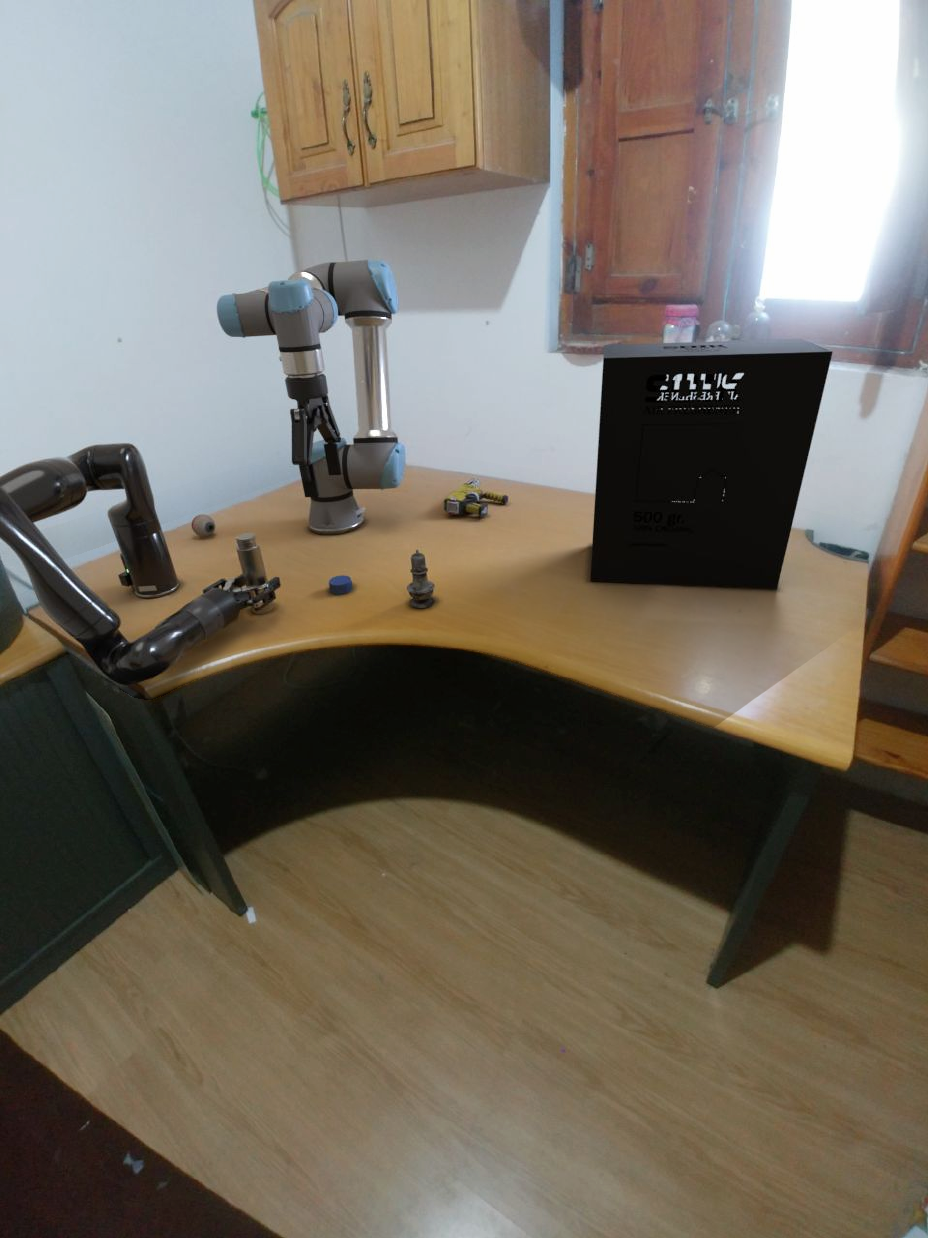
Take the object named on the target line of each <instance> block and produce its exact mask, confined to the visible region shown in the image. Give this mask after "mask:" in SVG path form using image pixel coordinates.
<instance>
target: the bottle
mask: <svg viewBox="0 0 928 1238" xmlns="http://www.w3.org/2000/svg"><path fill="white" fill-rule="evenodd" d="M235 541H236V544H237V545H236V547H235V549H236V553H237V557H238V560H239V564H240V569H241V572H242V574H243V576H244V580H245V584H246V585H245V588H246V587H249V586H252V585H255V586H260V585H264V584H265V583H267V582H268V581H269V580H268V576H267V572H266V568H265V564H264V560H263V555H262V551H261V547H260V543H258V542H256V534H254V533H252V532H245V533H241V534H238V535H237V536H236V537H235ZM262 591H264V590H260V591H259V592H258V593H259V594H260V593H261V592H262ZM250 594H251V600H252V598H254V593H253V591H250ZM274 608H275V606H274V600H273V601H272V602H271V603H269V604H268V605H266V606H265V607H264V608H262V609H261V610H259V611H255V610H254V607H251V610H252V612H253V613H254V614H256V615H264V614H267V613H269V612H271V611H273V610H274Z"/></svg>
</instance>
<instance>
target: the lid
mask: <svg viewBox="0 0 928 1238" xmlns="http://www.w3.org/2000/svg"><path fill="white" fill-rule="evenodd" d="M328 586H329V591H330V593H331V594H332V595H338V596H339V595H345V594H348V593H350V592H352V591H353V581H352V578H351V577H350V576H349V575H346V574H345V575H343V574H342V575H336V576H333V577H331V578H330V579H329V580H328Z"/></svg>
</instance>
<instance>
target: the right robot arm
mask: <svg viewBox="0 0 928 1238" xmlns="http://www.w3.org/2000/svg"><path fill="white" fill-rule="evenodd" d="M398 312H399V295H398V288H397V284H396V281H395V278H394V274H393V271H392V269H391V267H390V266H389V264H388V263H387V262H386V261H385V260H383V259H369V258H367V259H362V260H350V261H336V262H335V261H332V262H324V263H319V264H316V265H313V266H310V267H307V268H305V269H302V270H299V271H296V272H294V273H292V274H291V275H290V276H289V277H288V278H287V279H285V280H283V279H282V280H273V281H270V282H269V283H268V285H267V286H264V287H261V288H259V289H255V290H252V291H248V292H243V293H234V292H233V293H231V294H223V295H221V296H220V297H219V298H218V299H217V303H216V315H217V316H216V317H217V319H218V322H219V325H220V328H221V330H222V331H223V332H224V333H225V335H227V336H228V337H231V338H243V339H245V338H251V337H267V336H268V337H269V336H276V340H277V345H278V351H279V355H280V356H279V358H278V360H279V361H280V362H281V365H282V366H281V367H282V371H283V374H284V375H285V376H286V377H285V379H284V383H285V387H286V388H285V389H286V394H287V397H288V398H289V399H291V400H295V401H296V404H297V405H296V407H297V408H290V410H289V413H290V420H291V421H290V422H291V464H292V465H293V466H298V468H299V474H300V478H301V483H302V489H303V494H304V498H310V507H309V513H308V523H307V524H308V528H309V529H308V530H310V531H311V532H312V533H314V534H317V535H323V536H324V535H325V536H327V535H329V536H331V535H339V534H340V535H341V534H345V533H350V532H353V531H355V530H357V529H359V528H361V527H362V526H363V525H364V523H365V519H364V514H363V513H365V511H366V508H365V506H362V507H361V508H360V505H359V504H358V501H357V500H356V498H355V495H354V490H381V491H383V490H390V489H391V490H392V489H396V488H398V487H400V485H401V484H402V481H403V479H404V475H405V470H406V459H407V456H406V455H407V454H406V448H405V445H404V444H403V443H402V442H399V436H398V435H397V433H396V432H395V431H393V429H392V414H391V413H392V411H391V394H390V374H389V357H388V355H389V353H388V337H387V330H388V328H389V327H390V326H391V324H392V323H393V317H392V315H395V314H397V313H398ZM340 316H341V317H344V323H345V324H346V325H347V326H348V327H349V328H350V330H351V340H352V342H351V343H352V353H353V367H354V369H353V370H354V383H355V384H354V385H355V399H356V413H357V427H358V430H357V432H356V433H355V434H354V435H353V437H352V442H353V444H348V443H347V441H346V439H345V438H344V437H341V433H340V429H339V427H338V424H337V421H336V419H335V416H334V412H333V410H332V407H331V403H330V399H329V395H328V394H329V388H328V382H327V376H326V375H325V373H323V372H324V371H325V369H326V368H325V362H324V356H323V350H322V344H321V340H320V334H321V333H322V334H324V333H326V332H328V331H329V330H331V328H332V327H334V326H335V324H336V323H337V321H338V317H340ZM317 431H318V432H319V434H320V435H321V437H322V439H321V440H318V441H314V436H315V432H317Z"/></svg>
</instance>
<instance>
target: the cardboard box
mask: <svg viewBox="0 0 928 1238" xmlns="http://www.w3.org/2000/svg"><path fill="white" fill-rule="evenodd" d="M833 353H834V352H833V350H830V349H827V348H826V347H825V348H824V347H822V346H821V345H818V344H815V343H813V342H810V341H808V340H805V339H802V338H783V339H782V338H781V339H779V338H777V339H776V338H775V339H749V340H747V339H746V340H723V341H722V340H720V341H719V340H718V341H689V342H687V341H685V342H683V341H682V342H657V343H654V342H653V343H627V344H625V343H624V344H623V343H621V344H604V345H603V359H602V362H603V363H602V375H601V389H600V390H601V392H600V409H599V424H598V425H599V426H598V427H599V428H598V442H597V457H596V458H597V459H596V460H597V461H596V475H595V493H594V496H595V497H594V508H593V509H594V510H593V525H592V527H593V528H592V541H591V557H590V558H591V560H590V575H589V576H590V577H589V580H590V582H603V583H622V584H623V583H625V584H626V583H628V584H645V585H647V584H648V585H669V586H670V585H671V586H693V587H712V588H714V587H715V588H734V589H735V588H737V589H755V590H757V589H758V590H759V589H760V590H778V586H779V582H780V577H781V574H782V570H783V565H784V561H785V556H786V553H787V548H788V543H789V539H790V536H791V531H792V526H793V522H794V519H795V513H796V510H797V505H798V501H799V497H800V493H801V489H802V484H803V480H804V476H805V471H806V467H807V464H808V463H807V462H808V458H809V455H810V450H811V446H812V442H813V437H814V434H815V430H816V425H817V421H818V417H819V411H820V407H821V404H822V400H823V399H822V398H823V394H824V390H825V386H826V381H827V378H828V374H829V369H830V366H831V360H832V356H833ZM738 374H742V376H741V377H740V378H735V376H736V375H738ZM678 375H681V379H680V380H679V384H678V388H675V385H676V379H675V377H676V376H678ZM689 375H693V380H692V381H691V379H688V376H689ZM702 375H704V379H702ZM719 378H720V382H719ZM724 378H725V382H724ZM723 382H724V385H730V384H731V385H734V388H725V387H724V386H723ZM691 383H692V385H695V388H691ZM705 385H710V388H704V386H705ZM662 387H666V389H662Z"/></svg>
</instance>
